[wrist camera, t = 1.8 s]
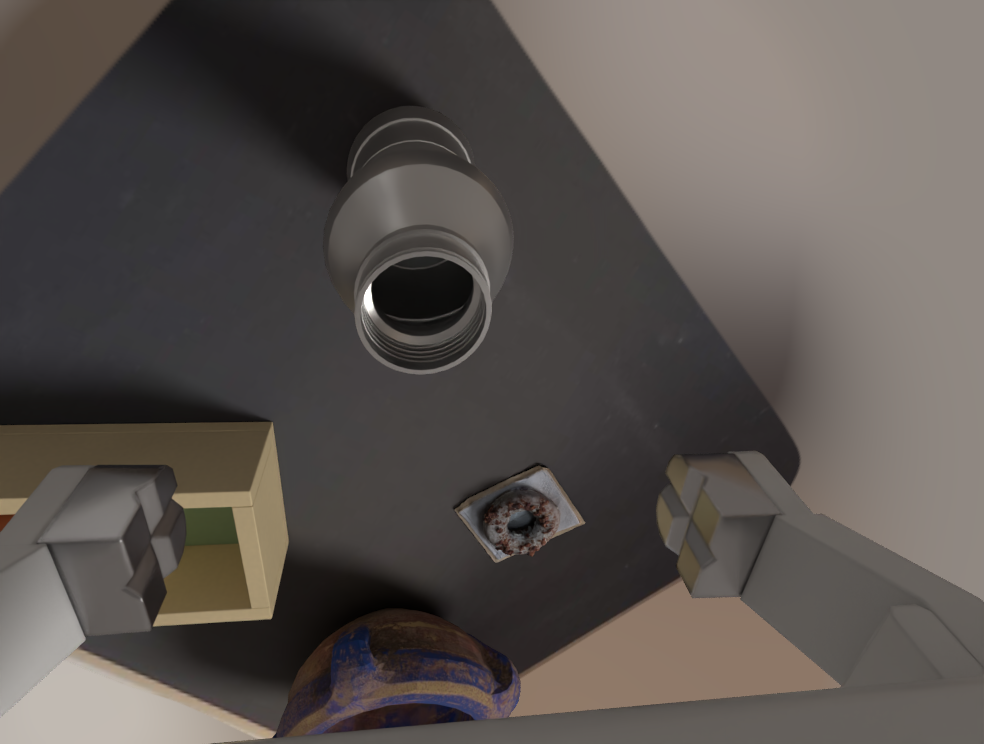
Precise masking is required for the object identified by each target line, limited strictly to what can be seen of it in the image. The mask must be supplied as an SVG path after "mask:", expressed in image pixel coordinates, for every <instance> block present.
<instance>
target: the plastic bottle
mask: <svg viewBox="0 0 984 744" xmlns="http://www.w3.org/2000/svg"><path fill="white" fill-rule="evenodd" d="M347 180H348V182H347V183H346V184H345V185H344V186H343V188H342V189H341V191H340V192H339V193H338V195H337V197H336V199H335V201H334V203H333V205H332V206H331V208H330V210H329V214H328V217H327V221H326V224H325V227H324V238H323V252H324V259H325V266H326V268H327V271H328V274H329V277H330V279H331V282H332V284H333V285H334V287H335V289H336V290H337V292H338V294H339V295H340V297H341V298H342V300H343V302H344V303H345V304H346V305H347V307H348V308H349V309H350V310H351V311H352V312H353V313H354V315H355V323H356V328H357V331H358V334H359V336H360V339H361V341H362V343H363V344H364V346H365V347H366V349H367V350H368V351H369V352H370V353H371V354H372V356H373V357H374V358H375V359H377V360H378V361H380V362H381V363H383V364H384V365H386V366H388V367H390V368H392V369H394V370H397V371H401V372H405V373H409V374H430V373H436V372H440V371H444V370H447V369H449V368H451V367H453V366H456V365H458V364H459V363H461V362H462V361H463V360H465V359H466V358H468V357H469V356H470V355H471V354H472V353H473V352H474V351H475V350H476V349H477V348H478V346H479V345H480V343H481V342H482V341H483V339H484V337H485V335H486V332H487V330H488V328H489V323H490V319H491V313H492V302H493V300H494V299H495V297H496V296H497V294H498V293H499V292H500V289H501V287H502V285H503V283H504V280H505V278H506V276H507V273H508V270H509V267H510V262H511V258H512V254H513V236H514V233H513V228H512V222H511V216H510V214H509V211H508V208H507V206H506V203H505V201H504V199H503V197H502V196H501V194H500V193H499V191H498V190H497V188H496V187H495V185H494V184H493V183H492V182H491V181H490V180H489V179H488V178H487V177H486V176H485V175H484V174H483V173H482V172H481V171H480V170H479V169H478V168H477V167H475V163H474V158H473V153H472V150H471V148H470V145H469V143H468V140H467V139H466V137H465V136H464V134H463V133H462V131H461V130H460V128H459V127H458V126H457V125H456V124H455V123H454V122H453V121H452V120H450V119H449V118H447V117H446V116H444V115H443V114H441V113H440V112H437V111H435V110H432V109H429V108H426V107H420V106H400V107H396V108H393V109H389V110H387V111H385V112H383V113H381V114H379V115H377V116H375V117H374V118H373V119H372V120H370V121H369V122H368V123H367V124H366V125H365V126H364V127H363V128H362V130H361V131H360V132H359V133H358V134H357V136H356V138H355V140H354V142H353V144H352V146H351V149H350V153H349V156H348V161H347Z"/></svg>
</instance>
